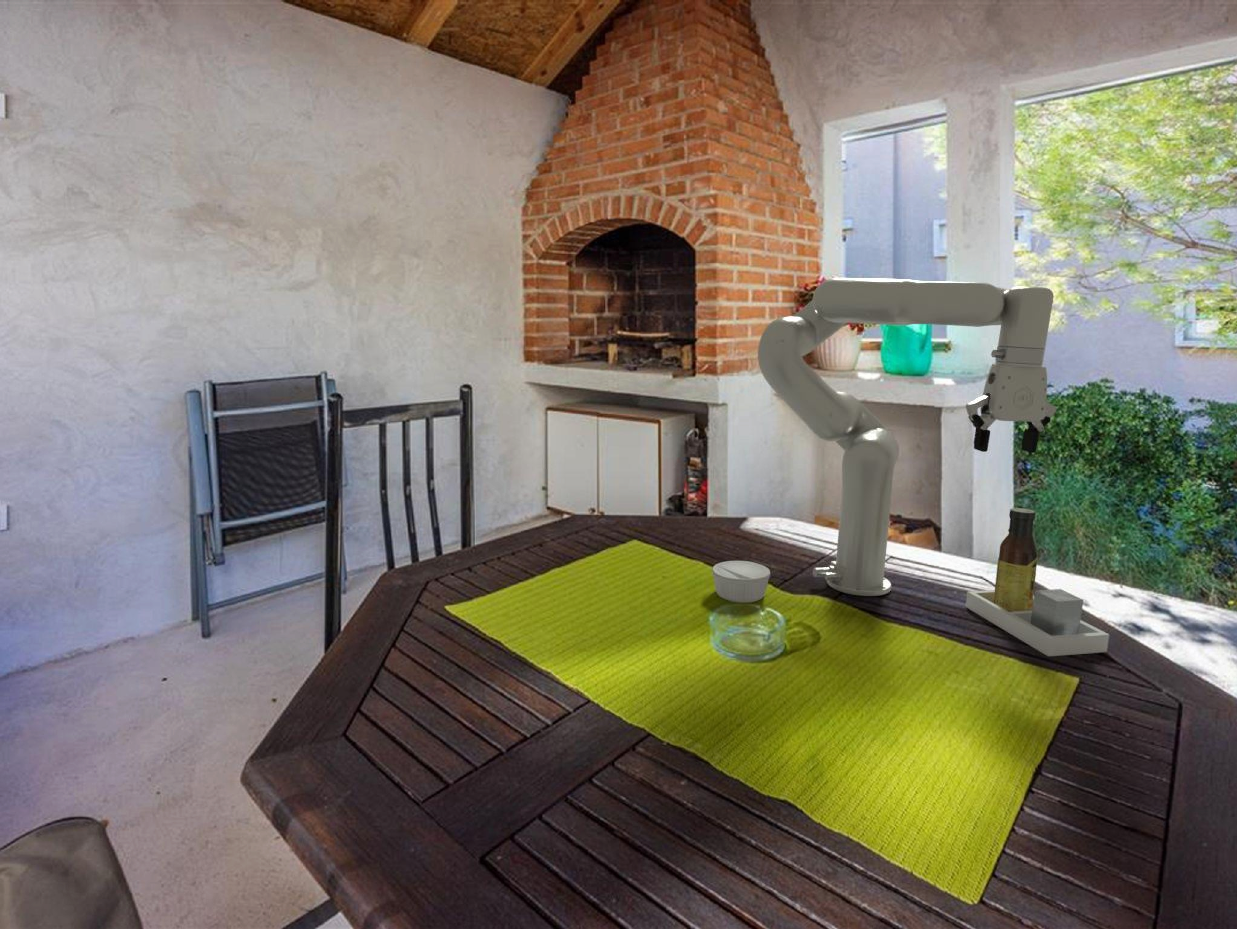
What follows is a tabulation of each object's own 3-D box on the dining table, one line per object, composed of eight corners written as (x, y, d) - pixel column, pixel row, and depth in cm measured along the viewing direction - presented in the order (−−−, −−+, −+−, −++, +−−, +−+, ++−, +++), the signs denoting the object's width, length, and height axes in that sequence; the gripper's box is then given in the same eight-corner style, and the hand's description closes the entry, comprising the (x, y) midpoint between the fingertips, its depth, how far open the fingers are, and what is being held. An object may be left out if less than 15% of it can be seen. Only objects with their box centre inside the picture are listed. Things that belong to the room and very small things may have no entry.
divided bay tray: (1105, 657, 122) (1109, 634, 122) (1047, 661, 120) (1050, 638, 120) (1016, 608, 143) (1018, 588, 142) (964, 611, 141) (967, 591, 140)
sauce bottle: (1035, 624, 132) (1050, 516, 129) (997, 620, 134) (1011, 513, 130) (1023, 610, 139) (1036, 507, 135) (987, 607, 140) (999, 505, 136)
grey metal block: (1050, 646, 124) (1057, 601, 122) (1029, 634, 128) (1035, 590, 127) (1076, 644, 125) (1083, 599, 123) (1054, 632, 129) (1060, 589, 128)
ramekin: (704, 599, 144) (705, 573, 143) (719, 581, 154) (720, 557, 153) (762, 609, 140) (763, 582, 139) (773, 589, 150) (775, 564, 149)
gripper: (988, 357, 129) (973, 454, 132) (1078, 361, 131) (1061, 456, 135) (962, 354, 136) (949, 446, 139) (1048, 357, 138) (1033, 448, 142)
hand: (1004, 450), depth 137 cm, fingers open, 9 cm apart
